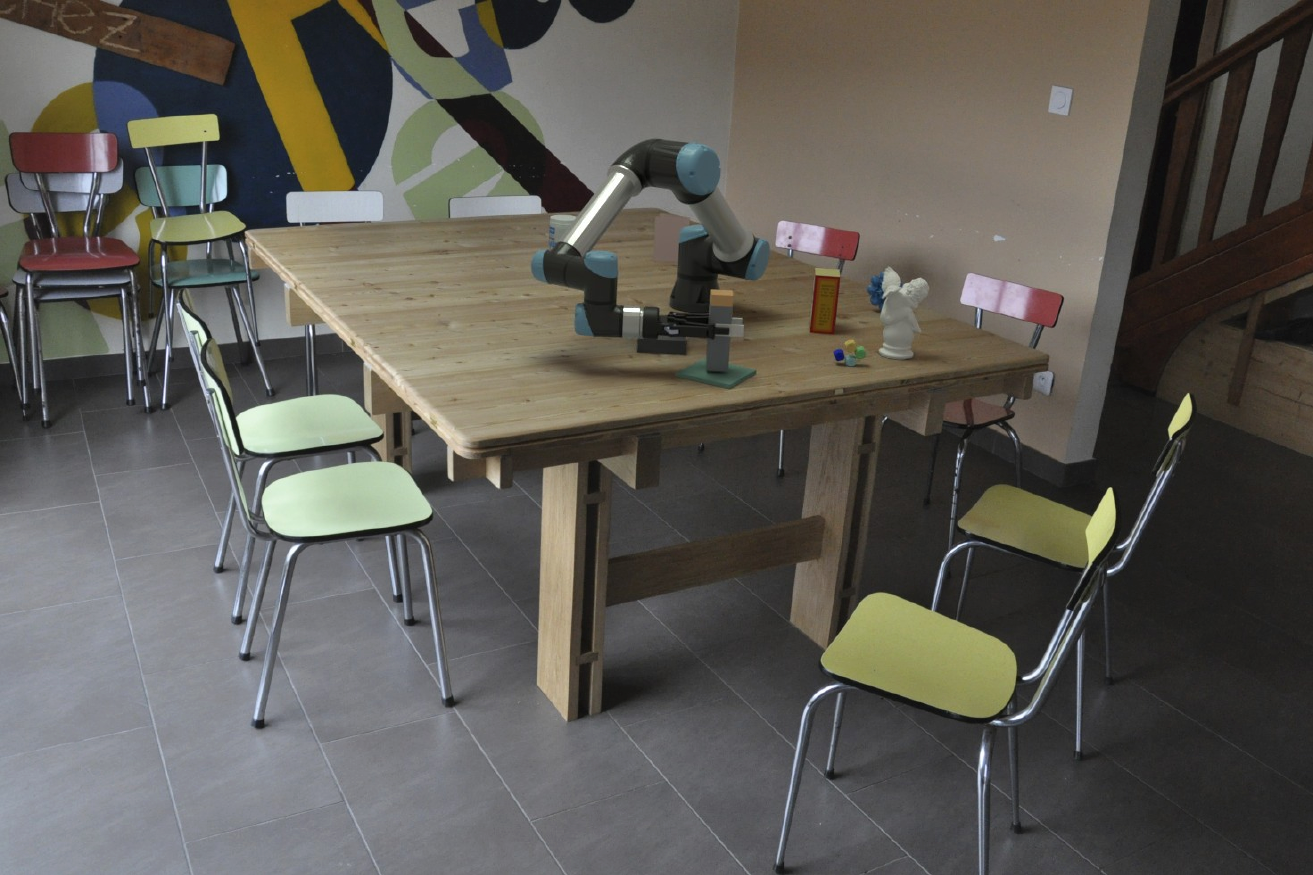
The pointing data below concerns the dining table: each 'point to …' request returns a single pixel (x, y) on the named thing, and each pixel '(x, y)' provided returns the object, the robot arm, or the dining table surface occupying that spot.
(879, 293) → the grapes
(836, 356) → the dice
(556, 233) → the supplement tub
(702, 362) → the mat
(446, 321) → the dining table surface
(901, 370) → the dining table surface
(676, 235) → the greeting card
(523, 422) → the dining table surface
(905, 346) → the cherub figurine
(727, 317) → the plug
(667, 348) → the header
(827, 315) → the baking soda box
